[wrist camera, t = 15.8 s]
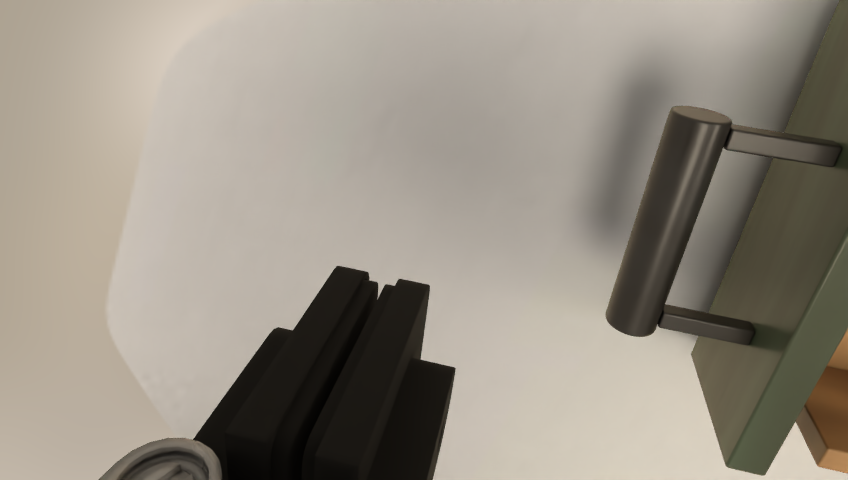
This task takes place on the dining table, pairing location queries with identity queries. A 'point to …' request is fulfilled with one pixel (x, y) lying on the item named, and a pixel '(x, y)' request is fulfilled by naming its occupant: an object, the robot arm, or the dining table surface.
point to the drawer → (758, 270)
